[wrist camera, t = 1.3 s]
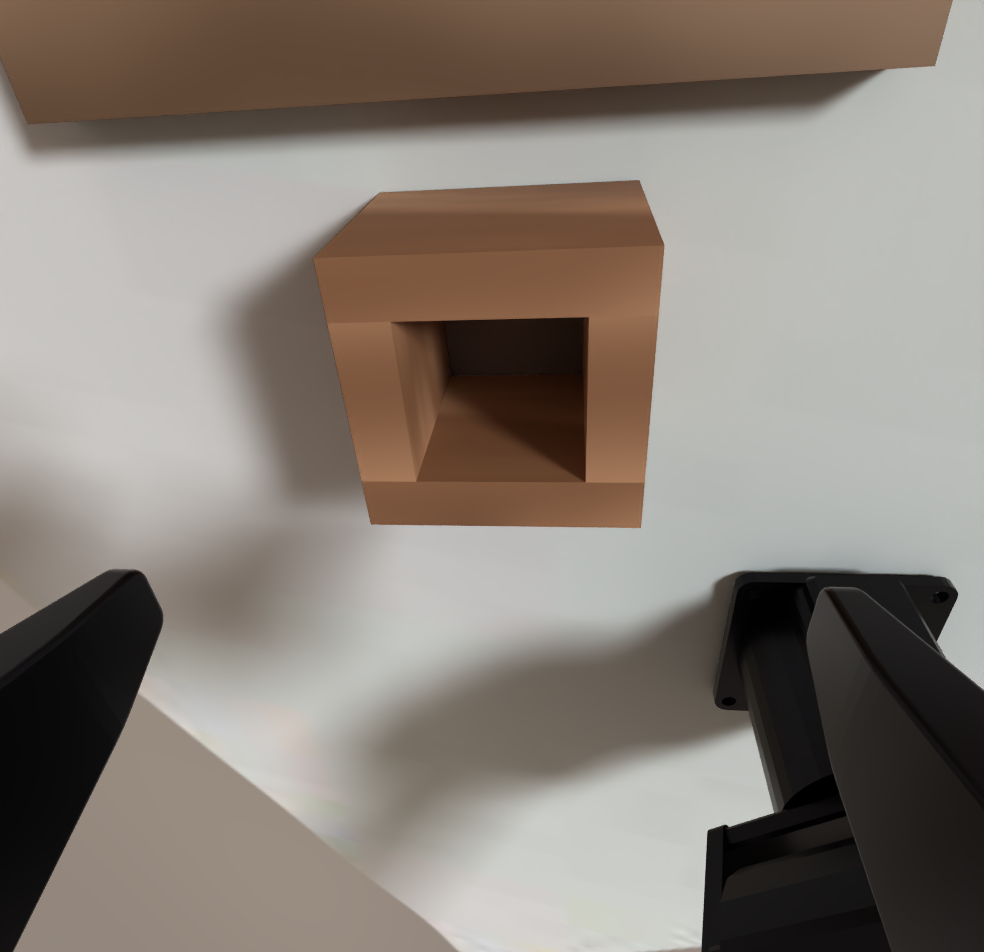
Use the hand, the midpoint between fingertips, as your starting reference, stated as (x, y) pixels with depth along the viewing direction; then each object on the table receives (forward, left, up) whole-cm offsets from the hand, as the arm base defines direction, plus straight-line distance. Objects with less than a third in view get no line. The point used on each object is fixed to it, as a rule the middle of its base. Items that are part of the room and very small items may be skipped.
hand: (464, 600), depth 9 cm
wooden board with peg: (+11, +1, -10) cm, 15 cm away
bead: (0, 0, -10) cm, 10 cm away
